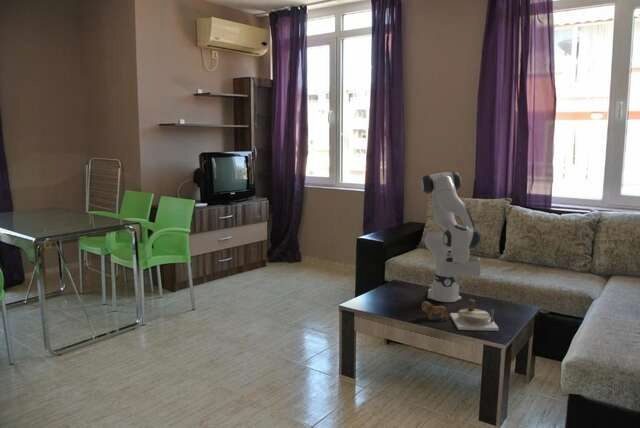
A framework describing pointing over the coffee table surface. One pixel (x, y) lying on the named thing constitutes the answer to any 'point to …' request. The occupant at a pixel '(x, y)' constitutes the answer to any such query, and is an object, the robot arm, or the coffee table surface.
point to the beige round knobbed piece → (473, 313)
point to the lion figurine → (434, 310)
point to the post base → (474, 323)
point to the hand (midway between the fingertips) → (458, 284)
